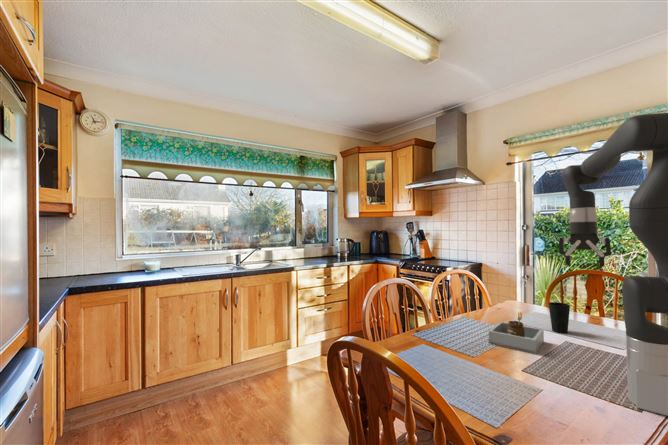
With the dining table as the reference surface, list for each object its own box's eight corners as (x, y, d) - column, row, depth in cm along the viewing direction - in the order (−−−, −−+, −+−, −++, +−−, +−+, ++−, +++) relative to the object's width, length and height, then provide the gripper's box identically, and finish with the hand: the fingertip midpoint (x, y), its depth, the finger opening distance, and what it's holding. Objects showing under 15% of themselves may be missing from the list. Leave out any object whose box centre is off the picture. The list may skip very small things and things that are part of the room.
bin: (535, 354, 114) (535, 340, 114) (488, 343, 125) (488, 331, 125) (543, 341, 125) (543, 329, 125) (500, 333, 136) (500, 321, 136)
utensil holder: (518, 337, 128) (518, 308, 128) (528, 342, 122) (527, 312, 122) (504, 337, 128) (503, 308, 128) (514, 343, 122) (513, 312, 122)
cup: (553, 333, 135) (552, 305, 135) (546, 328, 142) (545, 301, 142) (574, 335, 132) (573, 306, 133) (566, 329, 140) (565, 302, 140)
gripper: (556, 221, 111) (558, 266, 111) (609, 220, 102) (612, 269, 101) (559, 222, 117) (561, 265, 116) (609, 220, 108) (611, 267, 107)
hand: (584, 267), depth 109 cm, fingers open, 8 cm apart
